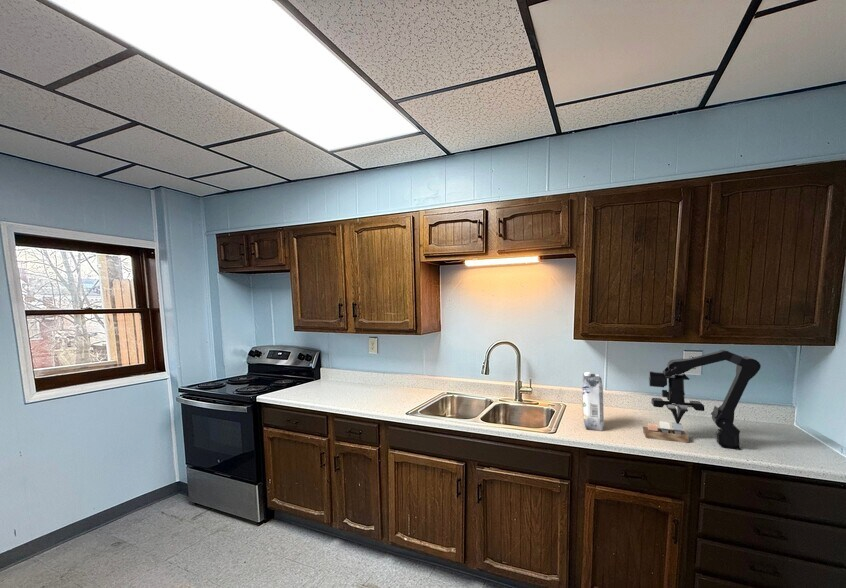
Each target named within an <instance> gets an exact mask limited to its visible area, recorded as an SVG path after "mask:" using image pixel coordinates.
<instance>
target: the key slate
mask: <svg viewBox="0 0 846 588" xmlns="http://www.w3.org/2000/svg"><path fill="white" fill-rule="evenodd" d="M671 428H672V430H674V434H681V431H684V425H683V424H682V423H680V422H679V424H678V423H676V422H671Z"/></svg>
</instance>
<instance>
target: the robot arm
mask: <svg viewBox="0 0 846 588" xmlns="http://www.w3.org/2000/svg"><path fill="white" fill-rule="evenodd" d="M724 361H726V362H727V361H728V362H730V363H732V364H735V365H736V368H735V376H734V379H733V380H732V383H731V385H730V387H729V389H728V391H727V394H726V396H725V397H724V400H723V402H722V404H721V405H720V406H717V405H714V407H713V410H712V412H711V413H710V415H711V419H712V421H713V422H714V424H715V425H716V426H717V427H718V429H717V432H716V443H717V445H719V446H720V447H721V448H725V449H733V450H741V451H742V447H741V446H740V433H741V430H740V429H738V427H737V426H736V425H735V423H734V421H735V410H736V409H737V407H738V405H739V402H740V399H741V398H742V396H743V394H744V392H745V389H747V386H748V384H749V381H750V380H752V379H753V378H754V377H755V376H756V375H757V374H758V372H759V371H760V370H761V369H762V368H761V366H762V365H761V363H760V362H759V361H758V360H756V359H754V357H750V356H745V355H744V356H742V355H739V354H736V353H734V352H731V351H728V350H726V349H720V350H718V351H714V352H710V353H706V354H701V355H698V356H694V357H693V356H692V357H690V358H675V359H674V358H673V359H671V360H669V361H668V362H667V364H666V368H664V369H663V370H662V372H660V371H652V370H651V371H650V370H649V375H648V376H649V377H648V385H649V387H652V388H653V387H654V388H655V387H657V388H665V387H667V386H668V390H666V389H661V397H662V398H660V397H652V398H651V402H650V403H651V405H652V406H653V407H655V408H664V407H665V406H666V408H667V410H669V411H671V414H672V416H673V418H674V421H675V423H678V424H679V423H680V422H681V420H682V419H683V416H684V415H685V413H687V412H689V409H688V408H692V409H694V410H695V411H698V412H704V411H705V405H704V404H703V403H702V402H700V401H699V400H689V402H686V399H685V395H686V393H685V381H686V380H687V381H689V380H690V378H689V376H687V375H686V374H685V373H687V372H689V371H690V370H692V369H695V368H698V367H703V366H708V365H710V364H714V363H718V362H724ZM663 398H666V400H663Z"/></svg>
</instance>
